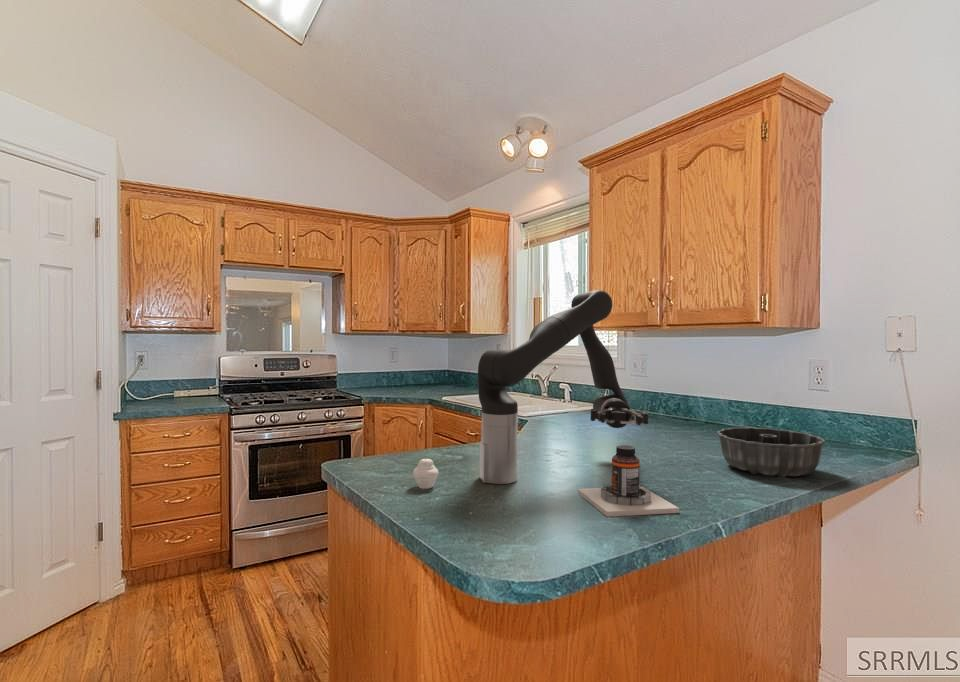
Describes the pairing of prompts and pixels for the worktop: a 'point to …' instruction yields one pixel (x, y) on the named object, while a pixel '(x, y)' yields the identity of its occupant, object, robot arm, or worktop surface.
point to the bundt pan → (771, 451)
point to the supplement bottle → (625, 472)
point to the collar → (628, 501)
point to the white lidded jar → (425, 474)
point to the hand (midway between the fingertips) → (621, 419)
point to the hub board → (612, 509)
